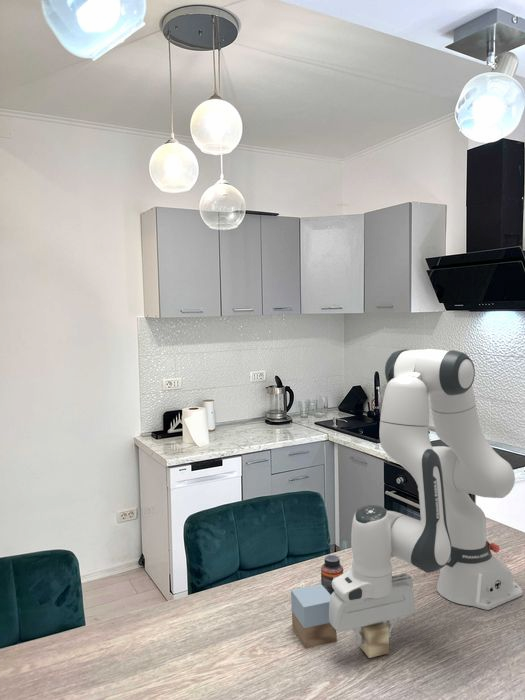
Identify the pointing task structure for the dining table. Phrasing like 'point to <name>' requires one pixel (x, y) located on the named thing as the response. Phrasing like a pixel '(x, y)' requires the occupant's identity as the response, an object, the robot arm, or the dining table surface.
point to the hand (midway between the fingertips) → (373, 639)
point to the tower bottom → (314, 633)
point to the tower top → (311, 605)
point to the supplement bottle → (330, 572)
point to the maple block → (375, 639)
